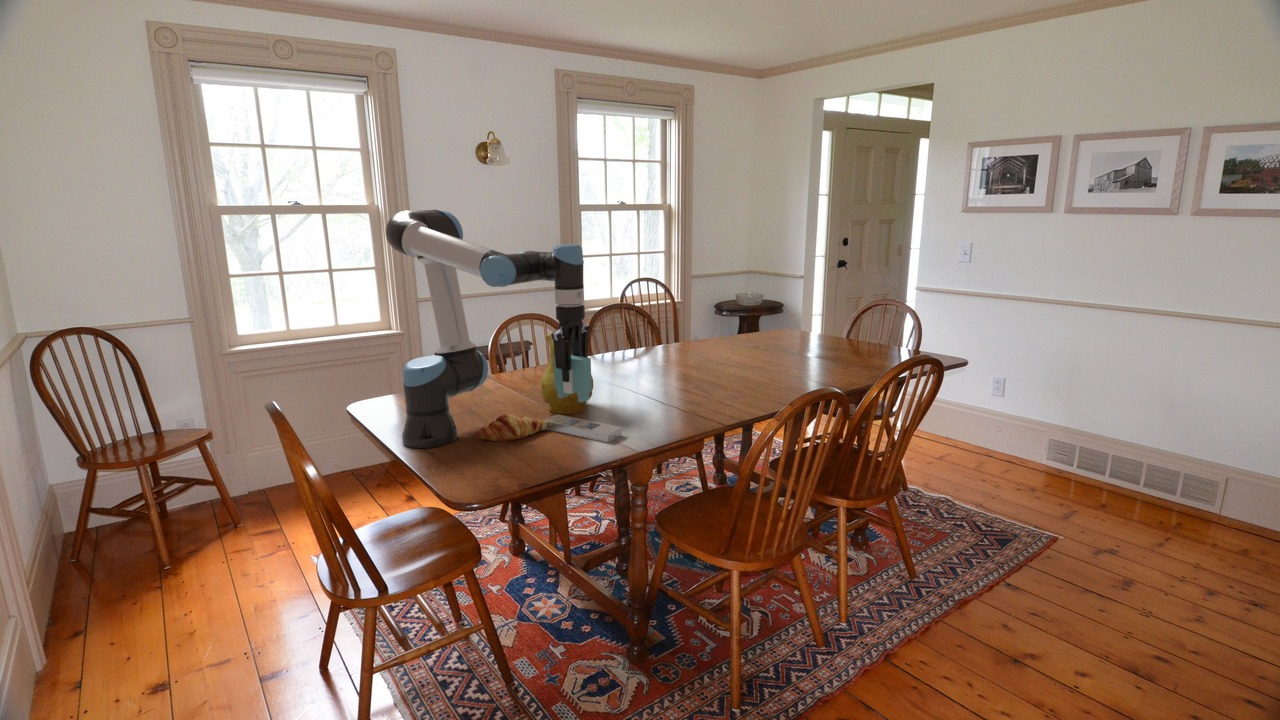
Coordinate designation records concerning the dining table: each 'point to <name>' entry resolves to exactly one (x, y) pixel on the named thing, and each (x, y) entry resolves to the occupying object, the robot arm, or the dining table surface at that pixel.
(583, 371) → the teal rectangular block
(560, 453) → the dining table surface
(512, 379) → the dining table surface
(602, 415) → the dining table surface
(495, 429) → the croissant
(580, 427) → the rail
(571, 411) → the pitcher
